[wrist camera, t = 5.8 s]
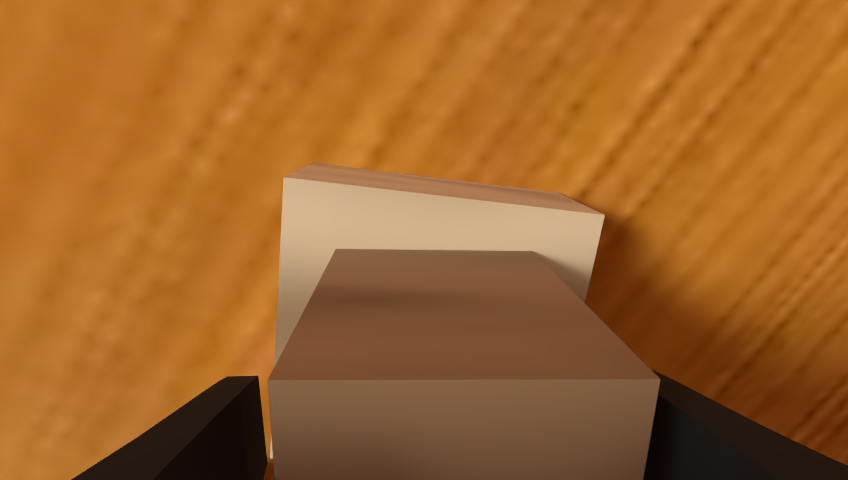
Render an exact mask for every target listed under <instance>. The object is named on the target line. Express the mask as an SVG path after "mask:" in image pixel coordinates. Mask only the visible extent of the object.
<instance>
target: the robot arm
mask: <svg viewBox="0 0 848 480" xmlns="http://www.w3.org/2000/svg"><path fill="white" fill-rule="evenodd" d="M652 371H653V370H652ZM653 372H654V373H655V374H656V375H657V376H658V377H659V378H660V385H659V391H658V396H657V402H656V408H655V414H654V419H653V425H652V431H651V437H650V442H649V448H648V454H647V460H646V465H645V471H644V477H643V480H848V466H847V465H845V464H842V463H840V462H838V461H835V460H833V459H831V458H829V457H827V456H825V455H822V454H820V453H818V452H816V451H814V450H812V449H810V448H808V447H805V446H803V445H801V444H799V443H797V442H795V441H793V440H791V439H788V438H786V437H784V436H782V435H780V434H778V433H776V432H774V431H772V430H770V429H768V428H766V427H764V426H762V425H760V424H758V423H756V422H754V421H752V420H750V419H748V418H746V417H744V416H742V415H740V414H738V413H736V412H734V411H732V410H730V409H729V408H727V407H725V406H723V405H721V404H719V403H717V402H715V401H713V400H711V399H709V398H707V397H705V396H704V395H702V394H700V393H698V392H696V391H694V390H692V389H690V388H688V387H686V386H684V385H682V384H680V383H678V382H676V381H674V380H672V379H670V378H668V377H666V376H664V375H662V374H660V373H658V372H655V371H653ZM266 466H267V456H266V446H265V436H264V427H263V417H262V408H261V398H260V388H259V379H258V376H233V377H226V378H224V379H222V380H221V381H219V382H217V383H216V384H214V385H213V386H211V387H210V388H208V389H207V390H205V391H204V392H202V393H201V394H199V395H198V396H196V397H195V398H194V399H192V400H191V401H189V402H188V403H186V404H185V405H184V406H182V407H181V408H179V409H178V410H176V411H175V412H173V413H172V414H171V415H169V416H168V417H166V418H165V419H163V420H162V421H160V422H159V423H158V424H156V425H155V426H153V427H152V428H150V429H149V430H147V431H146V432H144V433H143V434H142V435H140V436H139V437H137V438H136V439H134V440H133V441H131V442H129V443H128V444H126V445H125V446H123V447H122V448H120V449H119V450H117V451H115V452H114V453H112V454H111V455H109V456H108V457H106V458H104V459H103V460H101V461H100V462H98V463H97V464H95V465H94V466H92V467H90V468H89V469H87V470H86V471H84V472H83V473H81V474H79V475H78V476H76V477H75V478H73V479H71V480H263V478H264V474H265V470H266Z"/></svg>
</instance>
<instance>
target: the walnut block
mask: <svg viewBox="0 0 848 480" xmlns="http://www.w3.org/2000/svg"><path fill="white" fill-rule="evenodd" d="M659 385H660V378H659V377H658V376H657V375H656V374H655V373H654V372H653V371H652V370H651V369H650V368H649V367H648V366H647V365H646V364H645V363H644V362H643V361H642V360H641V359H640V358H639V357H638V356H637V355H636V354H635V353H634V352H633V351H632V350H631V349H630V348H629V347H628V346H627V345H626V344H625V343H624V342H623V341H622V340H621V339H620V338H619V337H618V336H617V335H616V334H615V333H614V332H613V331H612V330H611V329H610V328H609V327H608V326H607V325H606V324H605V323H604V322H603V321H602V320H601V319H600V318H599V317H598V316H597V315H596V314H595V313H594V312H593V311H592V310H591V309H590V308H589V307H588V306H587V305H586V304H585V303H584V302H583V301H582V300H581V299H580V298H579V297H578V296H577V295H576V294H575V293H574V292H573V291H572V290H571V289H570V288H569V287H568V286H567V285H566V284H565V283H564V282H563V281H562V280H561V279H560V278H559V277H558V276H557V275H556V274H555V273H554V272H553V271H552V270H551V269H550V268H549V267H548V266H547V265H546V264H545V263H544V262H543V261H542V260H541V259H540V258H539V257H538V256H537V255H536V254H535V253H534V252H533V251H480V250H395V249H335V251H334V253H333V255H332V257H331V259H330V261H329V263H328V265H327V267H326V269H325V271H324V273H323V274H322V276H321V278H320V280H319V282H318V284H317V286H316V288H315V290H314V292H313V294H312V296H311V298H310V300H309V301H308V303H307V305H306V307H305V309H304V311H303V313H302V315H301V317H300V319H299V321H298V323H297V325H296V327H295V328H294V330H293V332H292V334H291V336H290V338H289V340H288V342H287V344H286V346H285V348H284V350H283V352H282V354H281V356H280V357H279V359H278V361H277V363H276V365H275V367H274V369H273V371H272V373H271V375H270V377H269V379H268V392H269V407H270V422H271V436H272V451H273V466H274V480H643V477H644V471H645V465H646V460H647V454H648V448H649V442H650V437H651V431H652V425H653V419H654V414H655V408H656V402H657V396H658V391H659Z"/></svg>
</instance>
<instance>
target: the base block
mask: <svg viewBox="0 0 848 480" xmlns="http://www.w3.org/2000/svg"><path fill="white" fill-rule="evenodd" d="M604 217H605V215H604V214H602V213H600V212H598V211H596V210H593V209H591V208H589V207H587V206H585V205H583V204H581V203H579V202H577V201H575V200H573V199H570V198H568V197H566V196H564V195H562V194H560V193H558V192H550V191H542V190H534V189H525V188H517V187H509V186H500V185H492V184H484V183H476V182H467V181H459V180H451V179H442V178H434V177H426V176H417V175H409V174H401V173H392V172H384V171H376V170H368V169H359V168H351V167H343V166H334V165H326V164H318V163H311V164H309V165H307V166H305V167H303V168H301V169H299V170H297V171H295V172H293V173H291V174H289V175H287V176H285V177H284V181H283V202H282V223H281V243H280V264H279V285H278V305H277V326H276V346H275V365H276V363H277V361H278V359H279V357H280V356H281V354H282V352H283V350H284V348H285V346H286V344H287V342H288V340H289V338H290V336H291V334H292V332H293V330H294V328H295V327H296V325H297V323H298V321H299V319H300V317H301V315H302V313H303V311H304V309H305V307H306V305H307V303H308V301H309V300H310V298H311V296H312V294H313V292H314V290H315V288H316V286H317V284H318V282H319V280H320V278H321V276H322V274H323V273H324V271H325V269H326V267H327V265H328V263H329V261H330V259H331V257H332V255H333V253H334V251H335V249H395V250H480V251H533V252H534V253H535V254H536V255H537V256H538V257H539V258H540V259H541V260H542V261H543V262H544V263H545V264H546V265H547V266H548V267H549V268H550V269H551V270H552V271H553V272H554V273H555V274H556V275H557V276H558V277H559V278H560V279H561V280H562V281H563V282H564V283H565V284H566V285H567V286H568V287H569V288H570V289H571V290H572V291H573V292H574V293H575V294H576V295H577V296H578V297H579V298H580V299H581V300H582V301H583V302H584V303H585V300H586V296H587V291H588V287H589V282H590V278H591V274H592V269H593V265H594V261H595V256H596V252H597V247H598V243H599V239H600V234H601V230H602V226H603V221H604ZM270 458H272V459H273V451H272V436H271V450H270Z"/></svg>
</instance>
